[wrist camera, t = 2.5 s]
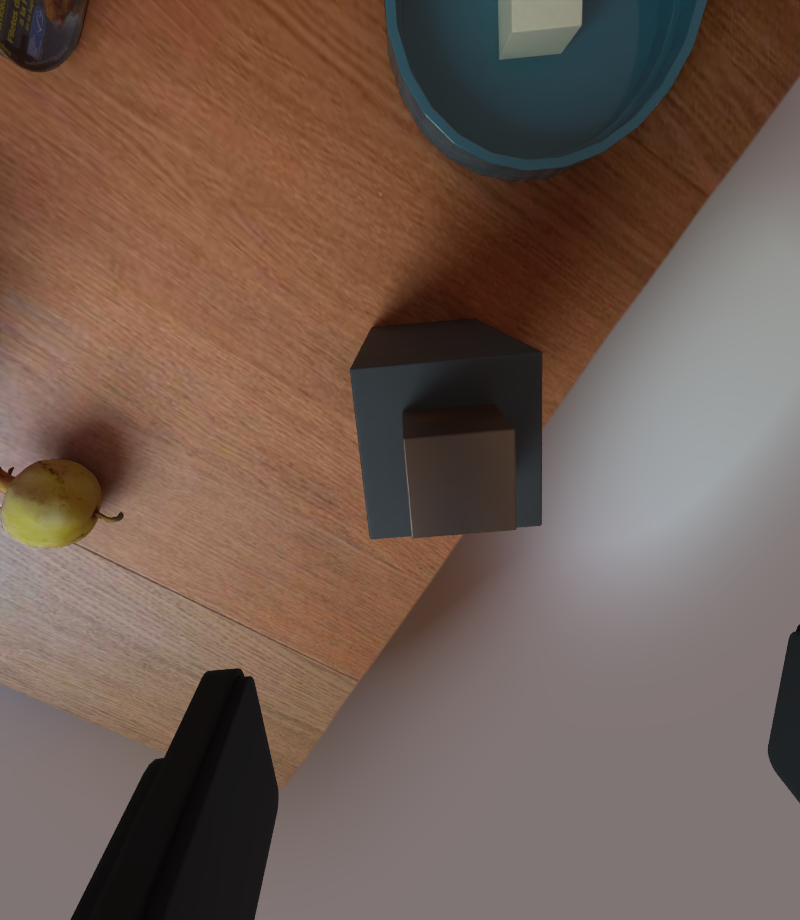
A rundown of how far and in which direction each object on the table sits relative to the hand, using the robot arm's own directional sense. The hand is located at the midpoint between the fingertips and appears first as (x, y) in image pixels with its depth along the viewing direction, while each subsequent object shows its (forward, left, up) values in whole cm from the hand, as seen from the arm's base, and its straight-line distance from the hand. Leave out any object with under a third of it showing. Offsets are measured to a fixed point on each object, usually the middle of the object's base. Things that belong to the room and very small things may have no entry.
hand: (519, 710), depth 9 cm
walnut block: (0, 0, -15) cm, 15 cm away
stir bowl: (-8, -22, -34) cm, 41 cm away
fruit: (+30, +7, -34) cm, 45 cm away
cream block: (-8, -22, -33) cm, 41 cm away
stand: (0, 0, -34) cm, 34 cm away
